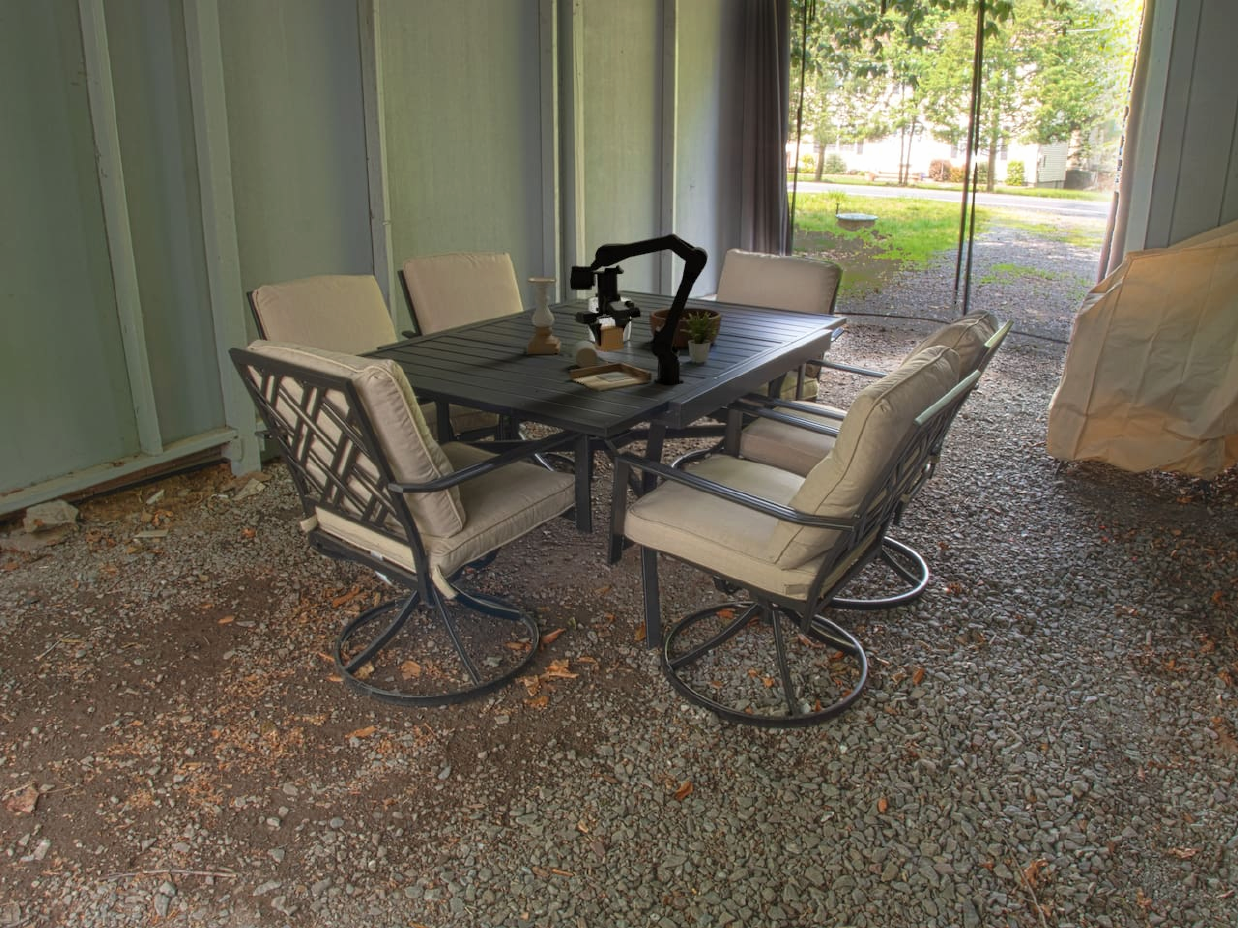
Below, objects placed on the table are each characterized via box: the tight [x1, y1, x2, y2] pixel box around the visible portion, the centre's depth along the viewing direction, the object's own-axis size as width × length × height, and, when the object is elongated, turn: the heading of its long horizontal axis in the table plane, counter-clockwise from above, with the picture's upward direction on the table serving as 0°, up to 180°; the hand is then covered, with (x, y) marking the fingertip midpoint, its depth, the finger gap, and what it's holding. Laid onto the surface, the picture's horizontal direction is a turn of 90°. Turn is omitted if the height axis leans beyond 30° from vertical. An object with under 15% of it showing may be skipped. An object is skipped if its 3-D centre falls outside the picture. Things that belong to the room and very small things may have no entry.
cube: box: [594, 325, 624, 353], centre depth 251 cm, size 6×6×6 cm
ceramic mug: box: [571, 340, 609, 369], centre depth 270 cm, size 11×8×8 cm
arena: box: [569, 361, 653, 392], centre depth 255 cm, size 16×18×3 cm
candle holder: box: [525, 276, 562, 355], centre depth 290 cm, size 11×11×24 cm
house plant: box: [680, 311, 723, 364], centre depth 274 cm, size 14×14×16 cm
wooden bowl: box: [648, 307, 723, 349], centre depth 302 cm, size 25×25×10 cm
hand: (609, 344), depth 252 cm, fingers closed on cube, 6 cm apart
